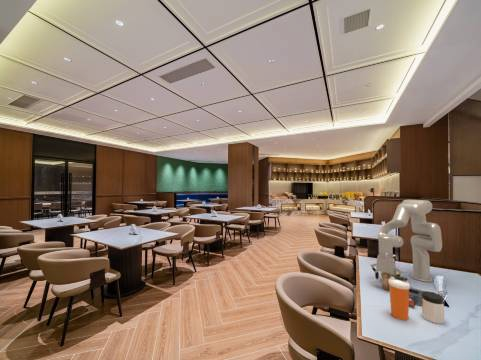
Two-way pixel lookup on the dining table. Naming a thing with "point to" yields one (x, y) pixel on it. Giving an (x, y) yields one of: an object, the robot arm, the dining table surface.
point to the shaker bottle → (399, 296)
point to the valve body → (415, 297)
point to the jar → (432, 307)
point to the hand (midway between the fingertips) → (385, 281)
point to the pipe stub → (386, 281)
